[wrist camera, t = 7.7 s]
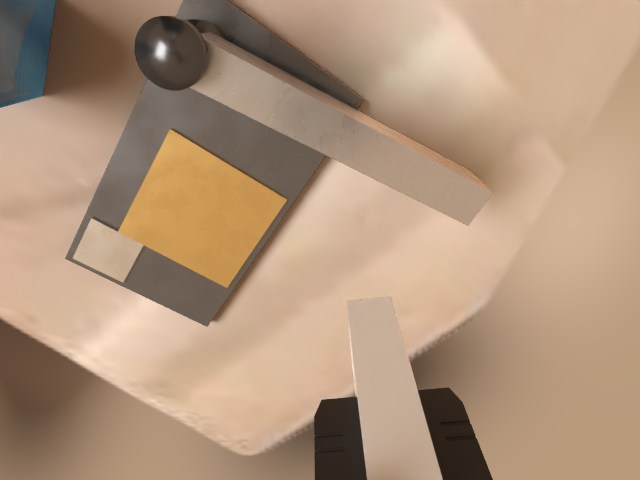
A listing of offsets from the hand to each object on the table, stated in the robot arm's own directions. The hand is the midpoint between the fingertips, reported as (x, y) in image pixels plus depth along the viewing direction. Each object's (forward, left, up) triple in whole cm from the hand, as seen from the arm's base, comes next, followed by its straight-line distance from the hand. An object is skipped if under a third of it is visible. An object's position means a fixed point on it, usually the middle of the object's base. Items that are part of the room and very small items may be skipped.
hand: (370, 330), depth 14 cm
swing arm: (-3, -3, -15) cm, 16 cm away
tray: (+6, -8, -18) cm, 20 cm away
